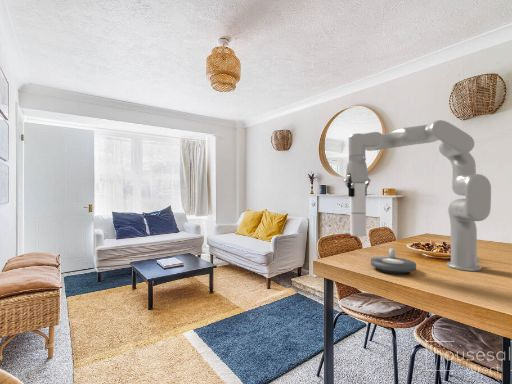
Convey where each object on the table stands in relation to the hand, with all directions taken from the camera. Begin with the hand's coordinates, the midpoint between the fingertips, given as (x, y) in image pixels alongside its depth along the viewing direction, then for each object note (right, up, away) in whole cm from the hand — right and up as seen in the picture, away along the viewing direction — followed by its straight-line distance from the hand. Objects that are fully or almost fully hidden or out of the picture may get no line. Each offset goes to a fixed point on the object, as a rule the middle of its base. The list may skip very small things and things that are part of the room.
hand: (357, 196), depth 130 cm
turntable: (+12, -31, -10) cm, 35 cm away
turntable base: (+12, -33, -10) cm, 36 cm away
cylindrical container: (0, -19, 0) cm, 19 cm away
